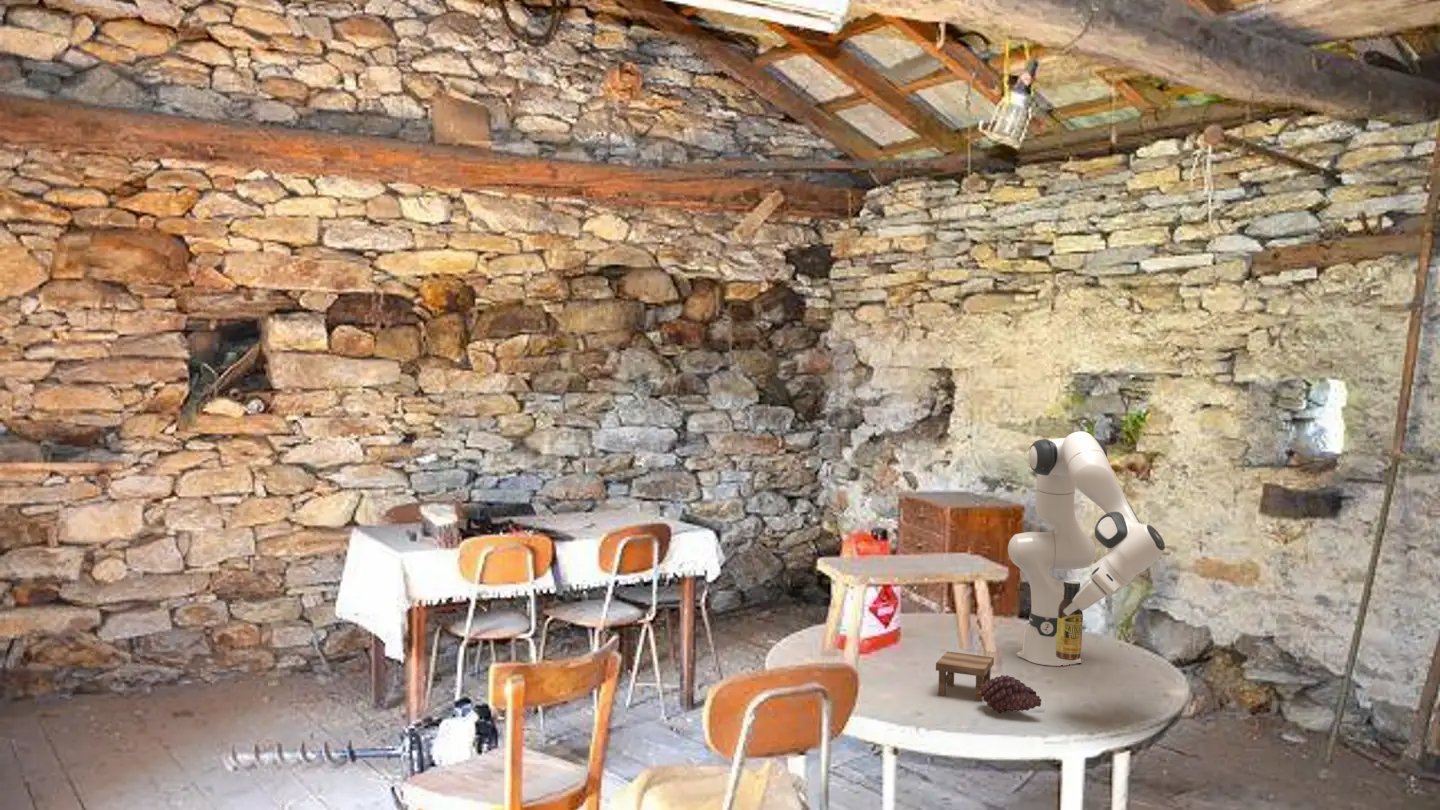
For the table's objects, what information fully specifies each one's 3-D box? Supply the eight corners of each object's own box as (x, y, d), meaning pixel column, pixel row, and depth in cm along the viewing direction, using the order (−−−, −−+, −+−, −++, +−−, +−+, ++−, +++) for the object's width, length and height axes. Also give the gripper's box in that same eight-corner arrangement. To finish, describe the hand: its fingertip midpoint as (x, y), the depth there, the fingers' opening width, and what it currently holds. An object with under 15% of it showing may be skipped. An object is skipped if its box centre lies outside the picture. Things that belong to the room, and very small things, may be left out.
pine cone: (1047, 717, 282) (1048, 678, 281) (1030, 726, 274) (1031, 687, 274) (984, 701, 293) (985, 664, 293) (966, 710, 286) (967, 672, 285)
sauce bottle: (1064, 662, 280) (1066, 584, 278) (1050, 655, 286) (1052, 579, 284) (1086, 660, 281) (1088, 583, 280) (1072, 653, 287) (1074, 578, 286)
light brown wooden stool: (946, 682, 310) (947, 651, 309) (993, 689, 304) (993, 657, 304) (935, 695, 298) (935, 663, 298) (983, 702, 293) (984, 669, 292)
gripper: (1103, 559, 289) (1064, 592, 293) (1095, 573, 270) (1052, 608, 275) (1121, 577, 287) (1081, 610, 292) (1113, 593, 269) (1071, 628, 273)
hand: (1067, 610), depth 283 cm, fingers closed on sauce bottle, 6 cm apart
